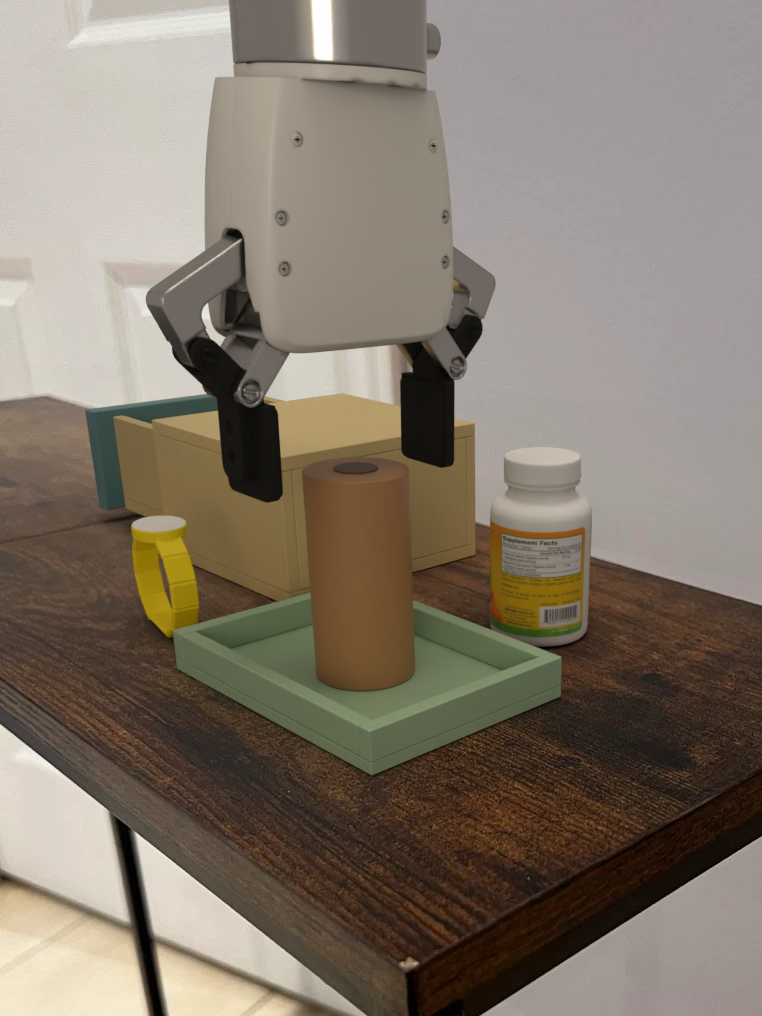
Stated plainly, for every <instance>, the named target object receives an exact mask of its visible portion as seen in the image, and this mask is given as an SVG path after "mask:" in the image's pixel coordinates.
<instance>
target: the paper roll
mask: <svg viewBox="0 0 762 1016" xmlns="http://www.w3.org/2000/svg"><path fill="white" fill-rule="evenodd" d="M302 481H303V495H304V509H305V523H306V537H307V551H308V565H309V580H310V594H311V608H312V622H313V636H314V650H315V664H316V675H317V677H318V679H319V680H320V681H321V682H323V683H324V684H326V685H328V686H331V687H334V688H337V689H342V690H349V691H373V690H381V689H386V688H390V687H394V686H397V685H400V684H402V683H404V682H406V681H407V680H409V679H410V678H411V677H412V676H413V674H414V672H415V651H414V618H413V600H414V590H413V587H414V586H413V573H412V551H411V518H410V485H409V469H408V467H407V466H406V465H404V464H402V463H400V462H397V461H393V460H388V459H381V458H369V457H348V458H335V459H328V460H323V461H318V462H315V463H312V464H309V465H307V466H306V467H304V468H303V470H302Z"/></svg>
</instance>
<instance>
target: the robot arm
mask: <svg viewBox="0 0 762 1016" xmlns="http://www.w3.org/2000/svg"><path fill="white" fill-rule="evenodd" d="M427 3H428V2H427V0H228V7H229V23H230V37H231V38H230V39H231V53H232V63H233V64H232V65H233V66H232V67H233V76H216V77H214V82H213V87H212V94H211V101H210V108H209V109H210V110H209V116H208V117H209V118H208V127H207V137H206V150H205V168H204V251H202V252H201V253H199V254H198V255H197V256H195V257H194V258H192V259H191V260H189V261H188V262H187V263H184V264H183V265H182V266H181V267H179V268H177V269H176V270H175V271H173V272H172V273H170V274H169V275H168V276H166V277H165V278H163V279H162V280H160V281H159V282H158V283H155V285H153V286H152V287H150V289H149V290H148V291H147V292H146V295H145V304H146V306H147V308H148V310H149V312H150V315H151V316H152V317H153V319H154V321H155V322H156V325H157V326H158V328H159V330H160V331H161V334H162V336H163V337H164V338H165V340H166V341H167V343H169V345H170V346H171V352H172V355H173V358H174V359H175V360H176V362H177V363H178V364H179V365H180V366H181V367H182V368H183V369H185V370H186V371H187V372H188V373H189V374H190V375H191V376H192V377H193V378H194V379H195V380H196V381H197V382H199V384H201V386H202V389H203V391H204V392H205V394H208V395H209V396H211V397H215V398H217V407H218V419H219V430H220V442H221V454H222V464H223V469H224V472H225V474H226V475H227V477H228V481H229V485H230V487H231V489H232V490H234V491H236V492H239V493H241V494H244V495H247V496H249V497H252V498H255V499H257V500H260V501H263V502H265V503H269V502H274V501H278V500H279V499H280V497H281V496H282V495H283V484H282V468H281V452H280V436H279V420H278V412H277V410H276V408H275V406H273V405H270V404H266V403H264V397H265V396H266V395H267V393H268V392H269V390H270V388H271V386H272V385H273V383H274V381H275V379H276V378H277V376H278V374H279V373H280V371H281V370H282V367H283V366H284V364H285V362H286V360H288V357H289V356H290V354H314V353H325V352H335V351H346V350H347V351H348V350H356V349H357V350H359V349H367V348H375V347H376V348H377V347H384V346H385V347H386V346H396V347H397V348H398V350H399V352H400V353H401V355H402V356H403V357H404V359H405V360H406V361H407V363H408V364H409V366H410V368H411V369H412V371H405V372H404V371H403V372H401V378H400V381H399V393H400V396H399V398H400V400H399V401H400V402H399V403H400V406H401V451H402V454H403V455H404V456H406V457H407V458H409V459H413V460H416V461H419V462H423V463H426V464H430V465H433V466H436V467H440V468H445V467H450V466H452V465H453V463H454V418H455V404H456V403H455V402H456V401H455V399H456V397H455V392H456V391H455V390H456V389H455V387H456V385H455V383H456V382H455V381H459V380H461V379H462V378H463V377H464V376H465V374H466V373H467V369H468V362H467V358H468V357H469V356H470V354H471V352H472V350H474V348H475V346H476V345H477V343H478V342H479V340H480V339H481V336H482V335H483V331H484V330H483V327H484V326H483V322H482V320H483V319H485V317H486V315H487V312H488V309H489V306H490V303H491V301H492V298H493V295H494V292H495V289H496V286H497V283H496V278H495V276H494V275H493V274H492V273H491V272H490V271H489V270H487V269H485V268H484V267H483V266H482V265H480V264H479V263H477V262H476V261H475V260H473V259H472V258H470V257H469V256H468V255H466V254H465V253H463V252H462V251H461V250H460V249H458V248H457V247H455V246H454V235H453V217H452V202H451V200H452V199H451V188H450V179H449V168H448V159H447V152H446V144H445V137H444V131H443V125H442V118H441V113H440V107H439V102H438V97H437V92H436V90H430V89H428V74H427V73H428V61H430V60H434V59H435V58H437V57H438V55H439V53H440V51H441V44H442V37H441V33H440V30H439V28H438V26H436V25H437V24H434V23H431V22H428V19H427V16H428V15H427V11H428V10H427V5H428V4H427ZM206 305H207V306H208V312H209V319H210V322H211V323H210V324H211V326H212V328H213V329H214V331H215V332H216V333H217V334H219V335H220V336H222V337H223V338H224V339H223V340H222V343H221V344H220V345H219V344H218V343H217V342H216V341H214V340H213V339H212V338H211V337H210V335H209V333H208V330H207V326H206V323H205V322H204V319H203V316H202V315H203V310H204V307H205V306H206Z"/></svg>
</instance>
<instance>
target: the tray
mask: <svg viewBox="0 0 762 1016" xmlns="http://www.w3.org/2000/svg"><path fill="white" fill-rule="evenodd" d="M413 618H414V651H415V672H414V674H413V676H412V677H411V678H410V679H409V680H407V681H406V682H404V683H402V684H400V685H397V686H394V687H390V688H386V689H381V690H373V691H349V690H342V689H337V688H334V687H331V686H328V685H326V684H324V683H323V682H321V681H320V680H319V679H318V677H317V675H316V664H315V650H314V636H313V622H312V608H311V594H310V593H307V594H304V595H300V596H296V597H293V598H289V599H285V600H282V601H275V602H271V603H267V604H264V605H260V606H257V607H253V608H249V609H246V610H242V611H239V612H235V613H232V614H228V615H224V616H223V615H222V616H220V617H216V618H212V619H208V620H206V621H202V622H198V623H197V624H194V625H191V626H187V627H183V628H180V629H176V630H173V637H172V638H173V645H174V651H175V652H174V653H175V662H176V669H177V670H178V671H180V672H181V673H184V674H186V675H188V676H190V678H193V679H195V680H197V681H199V682H201V683H202V684H204V685H206V686H208V687H209V688H211V689H213V690H215V691H217V692H219V693H221V694H222V695H224V696H226V697H227V698H229V699H231V700H233V701H234V702H237V703H239V704H240V705H242V706H244V707H246V708H248V709H250V710H251V711H253V712H255V713H257V714H259V715H260V716H262V717H264V718H266V719H267V720H270V721H271V722H273V723H275V724H277V725H278V726H280V727H282V728H284V729H286V730H288V731H290V732H291V733H293V734H295V735H297V736H299V737H300V738H302V739H304V740H306V741H308V742H310V743H312V744H313V745H315V746H317V747H319V748H321V749H323V750H325V751H326V752H328V753H330V754H332V755H333V756H336V757H337V758H339V759H341V760H342V761H344V762H346V763H348V764H349V765H351V766H353V767H354V768H355V767H356V768H357V769H359V770H361V771H363V772H364V773H366V774H367V775H370V776H374V775H377V774H379V773H382V772H384V771H386V770H389V769H391V768H393V767H396V766H398V765H401V764H403V763H405V762H408V761H410V760H412V759H415V758H418V757H420V756H422V755H425V754H427V753H429V752H431V751H434V750H437V749H439V748H441V747H444V746H446V745H449V744H451V743H453V742H455V741H458V740H460V739H463V738H465V737H467V736H469V735H472V734H474V733H477V732H480V731H482V730H484V729H487V728H489V727H492V726H494V725H497V724H498V723H501V722H504V721H505V720H508V719H510V718H513V717H516V716H517V715H520V714H522V713H524V712H527V711H530V710H532V709H535V708H537V707H539V706H542V705H544V704H546V703H549V702H551V701H553V700H556V699H558V698H560V697H562V669H563V668H562V667H563V665H562V664H563V662H562V661H563V657H562V656H561V655H558V654H555V653H553V652H549V651H547V650H545V649H542V648H540V647H535V646H532V645H529V644H527V643H524V642H521V641H519V640H516V639H514V638H511V637H508V636H506V635H503V634H501V633H498V632H495V631H493V630H492V629H490V628H487V627H485V626H482V625H480V624H477V623H474V622H472V621H470V620H466V619H464V618H461V617H459V616H457V615H454V614H451V613H448V612H446V611H443V610H440V609H438V608H435V607H433V606H430V605H427V604H425V603H422V602H420V601H418V600H414V599H413Z"/></svg>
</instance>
